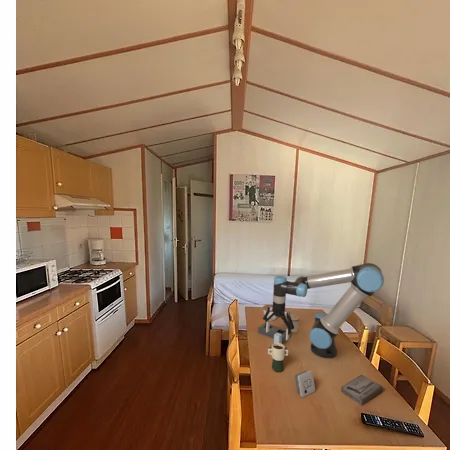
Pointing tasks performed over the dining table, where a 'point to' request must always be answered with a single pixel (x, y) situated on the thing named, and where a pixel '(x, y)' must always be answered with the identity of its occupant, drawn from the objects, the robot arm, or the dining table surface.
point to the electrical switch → (305, 383)
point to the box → (361, 389)
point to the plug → (278, 338)
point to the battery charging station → (273, 331)
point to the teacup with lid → (294, 323)
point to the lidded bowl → (269, 313)
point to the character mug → (277, 356)
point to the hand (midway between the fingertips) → (277, 335)
